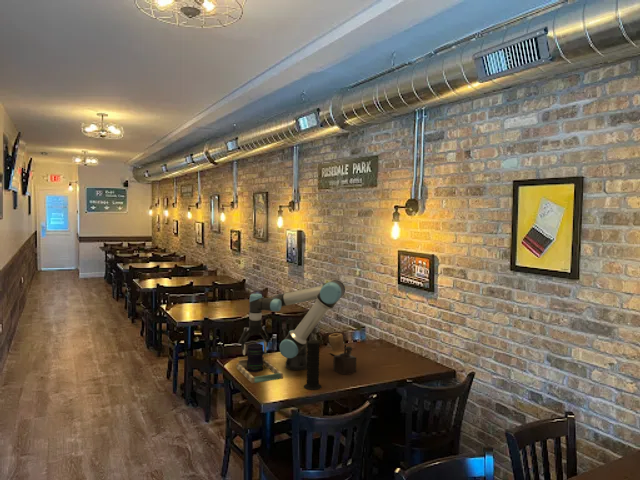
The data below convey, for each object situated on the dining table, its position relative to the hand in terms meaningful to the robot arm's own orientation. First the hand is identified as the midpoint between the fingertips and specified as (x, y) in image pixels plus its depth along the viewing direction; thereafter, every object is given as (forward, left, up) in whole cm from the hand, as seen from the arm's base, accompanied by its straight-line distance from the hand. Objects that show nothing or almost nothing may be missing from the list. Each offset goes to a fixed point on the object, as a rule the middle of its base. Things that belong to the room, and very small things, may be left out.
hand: (254, 353), depth 291 cm
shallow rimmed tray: (-5, +5, -10) cm, 13 cm away
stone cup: (-41, -47, -10) cm, 63 cm away
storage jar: (0, 0, -10) cm, 10 cm away
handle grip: (-43, +15, -10) cm, 47 cm away
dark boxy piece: (-55, -15, -10) cm, 58 cm away
